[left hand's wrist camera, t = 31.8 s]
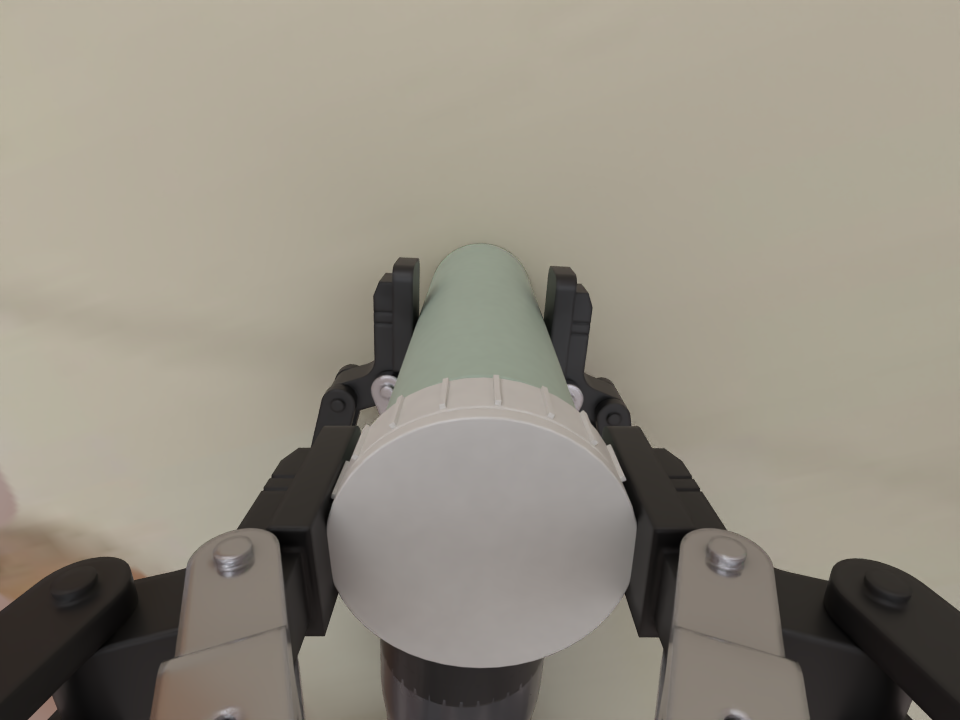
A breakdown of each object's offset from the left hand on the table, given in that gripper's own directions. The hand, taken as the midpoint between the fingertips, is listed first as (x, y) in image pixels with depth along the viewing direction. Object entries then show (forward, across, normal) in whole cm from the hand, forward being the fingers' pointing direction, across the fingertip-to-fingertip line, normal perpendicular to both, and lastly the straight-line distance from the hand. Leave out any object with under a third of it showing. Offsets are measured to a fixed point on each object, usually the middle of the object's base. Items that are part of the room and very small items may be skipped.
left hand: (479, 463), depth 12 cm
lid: (-3, 0, 0) cm, 3 cm away
